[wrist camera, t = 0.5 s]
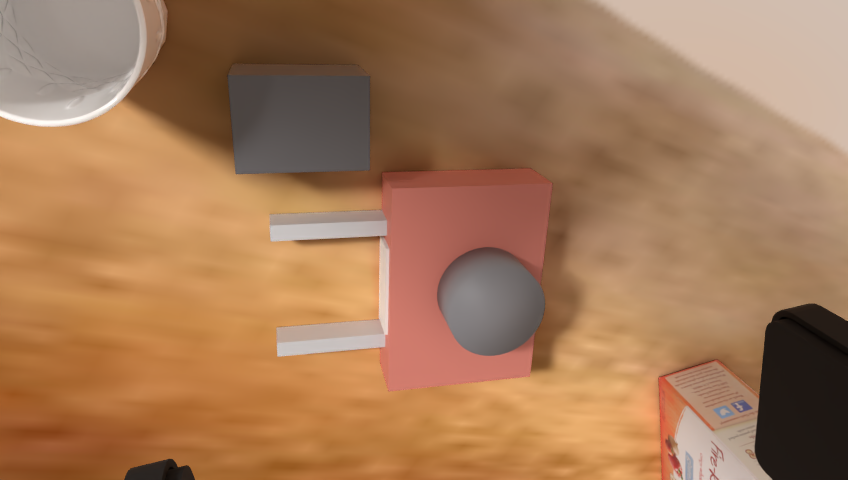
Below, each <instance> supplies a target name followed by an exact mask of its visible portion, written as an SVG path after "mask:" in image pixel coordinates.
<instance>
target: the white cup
mask: <svg viewBox="0 0 848 480" xmlns="http://www.w3.org/2000/svg"><path fill="white" fill-rule="evenodd" d="M167 15H168V11H167V8H166V6H165V3H164V0H0V116H1V117H3V118H6V119H9V120H12V121H15V122H19V123H23V124H28V125H34V126H44V127H60V126H69V125H75V124H79V123H83V122H86V121H89V120H92V119H94V118H96V117H99V116H101V115H102V114H104V113H106V112H107V111H109V110H110V109H112V108H113V107H115V106H116V105H117V104H118V103H119V102H120V101H121V100H122V99H123V98H124V97H125V96H126V95H127V94H128V93H129V92H130V91H131V89H132V88H133V87H134V86H135V85H136V84H137V83H138V82H139V81H140V80H141V79H142V78H143V76H144V75H145V74H146V73H147V71H148V70H149V68H150V67H151V66H152V64H153V63H154V61H155V60H156V58H157V56H158V53H159V51H160V49H161V47H162V46H163V44H164V43H165V41H166V29H167Z"/></svg>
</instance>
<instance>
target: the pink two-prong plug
mask: <svg viewBox="0 0 848 480" xmlns="http://www.w3.org/2000/svg"><path fill="white" fill-rule="evenodd" d="M552 186H553V183H551V182H550V181H549V180H547V179H546V178H544V177H543V176H541V175H540V174H539V173H537V172H536V171H534V170H533V169H531V168H522V169H484V170H447V171H409V172H382V210H365V211H340V212H315V213H291V214H270V238H271V241H288V240H309V239H329V238H349V237H369V236H380V264H379V319H376V320H364V321H351V322H339V323H326V324H314V325H301V326H289V327H277V354H278V356H289V355H301V354H312V353H323V352H334V351H345V350H356V349H367V348H378V347H380V364H381V368H382V371H383V374H384V378H385V381H386V385H387V388H388V391H397V390H406V389H416V388H425V387H435V386H444V385H453V384H463V383H472V382H482V381H491V380H500V379H510V378H519V377H529V376H530V371H531V362H532V354H533V346H534V337H535V332H536V330H537V328H538V327H539V325H540V323H541V321H542V318H543V315H544V310H545V297H544V293H543V290H542V288H541V278H542V270H543V262H544V253H545V245H546V236H547V228H548V219H549V211H550V203H551V194H552Z"/></svg>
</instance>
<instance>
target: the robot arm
mask: <svg viewBox="0 0 848 480" xmlns="http://www.w3.org/2000/svg"><path fill="white" fill-rule="evenodd" d="M754 448H755V455H756V458H757V461H758V463H759V465H760V466H761V468H762V469H763V470H764V471H765V473H766V474H767V475H768V476H769V477H770V478H771V479H772V480H848V321H846V320H844V319H843V318H841V317H839V316H837V315H836V314H834V313H832V312H830V311H829V310H827V309H825V308H823V307H822V306H819V305H817V304H805V305H801V306H797V307H793V308H789V309H785V310H781V311H779V312H777V313H775V315H774V316H773V318H772V322H771V323H769V324H768V325H767V327H766V331H765V342H764V352H763V363H762V373H761V384H760V394H759V405H758V415H757V426H756V436H755V447H754ZM124 480H195V479H194V476H193V473H192V471H191V469H190V467H189V466H187V465H186V466H182V467H177V464H176V463H175V461H174V460H173V459H167V460H163V461H159V462H155V463H151V464H146V465H142V466H138V467H134V468H131V469H130V470H128V472H127V474H126V476H125V479H124Z"/></svg>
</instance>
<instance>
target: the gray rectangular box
mask: <svg viewBox="0 0 848 480" xmlns="http://www.w3.org/2000/svg"><path fill="white" fill-rule="evenodd" d="M228 87H229V99H230V111H231V123H232V136H233V148H234V160H235V172H236V174H259V173H294V172H329V171H364V170H370V76H369V75H368V74H367V73H366V72H365V71H364V70H363V69H362V68H361V67H360V66H359V65H329V64H233V65H232V67H231V69H230V71H229V73H228Z"/></svg>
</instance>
